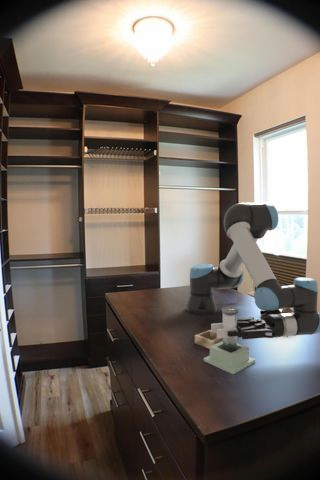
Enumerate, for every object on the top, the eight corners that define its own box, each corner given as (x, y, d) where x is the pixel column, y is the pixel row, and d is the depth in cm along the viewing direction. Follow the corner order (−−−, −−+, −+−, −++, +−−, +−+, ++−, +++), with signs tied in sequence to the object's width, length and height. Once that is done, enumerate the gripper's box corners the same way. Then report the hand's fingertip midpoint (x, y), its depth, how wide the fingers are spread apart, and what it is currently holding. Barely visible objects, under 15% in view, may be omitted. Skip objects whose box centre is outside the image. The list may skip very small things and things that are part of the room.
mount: (194, 342, 122) (194, 335, 122) (209, 337, 127) (209, 329, 127) (212, 350, 115) (212, 342, 115) (226, 343, 121) (226, 335, 121)
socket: (203, 361, 107) (203, 346, 106) (226, 350, 115) (226, 337, 114) (233, 374, 98) (233, 358, 97) (255, 362, 106) (255, 347, 105)
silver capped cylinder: (218, 352, 106) (218, 308, 105) (228, 348, 109) (228, 305, 108) (231, 357, 102) (231, 312, 101) (240, 353, 106) (241, 308, 104)
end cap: (281, 323, 142) (282, 308, 141) (265, 323, 142) (266, 308, 142) (274, 316, 152) (275, 302, 151) (259, 316, 152) (260, 302, 152)
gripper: (294, 346, 100) (224, 353, 96) (266, 327, 117) (205, 332, 113) (295, 323, 99) (224, 329, 95) (266, 307, 117) (205, 311, 113)
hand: (214, 330), depth 104 cm, fingers closed on silver capped cylinder, 5 cm apart
